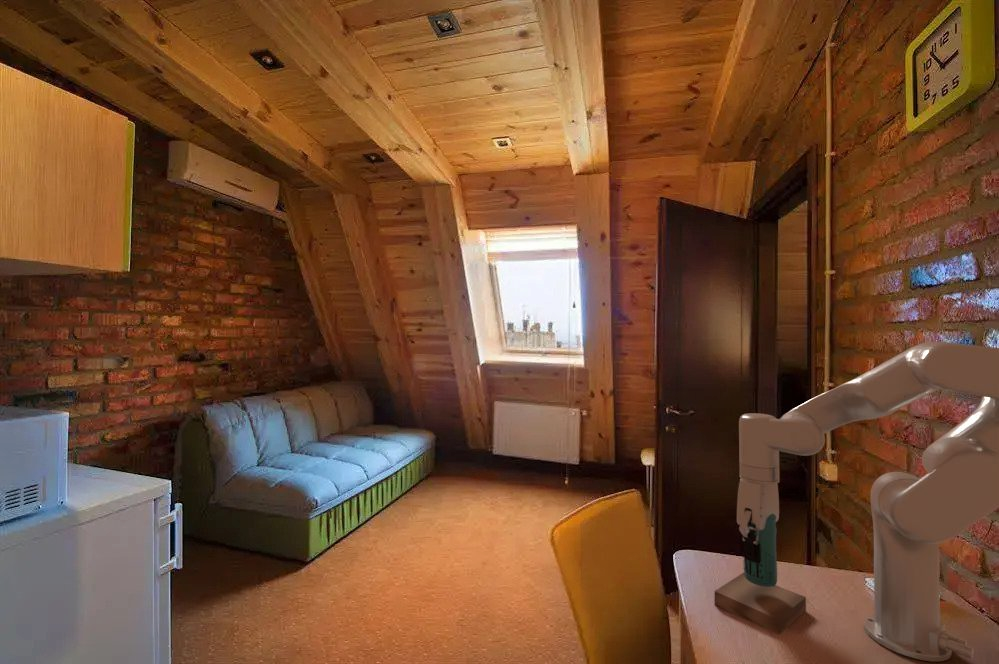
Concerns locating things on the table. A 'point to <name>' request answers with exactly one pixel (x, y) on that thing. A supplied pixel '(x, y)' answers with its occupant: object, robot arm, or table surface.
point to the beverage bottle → (764, 557)
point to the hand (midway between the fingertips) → (760, 555)
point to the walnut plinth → (761, 603)
